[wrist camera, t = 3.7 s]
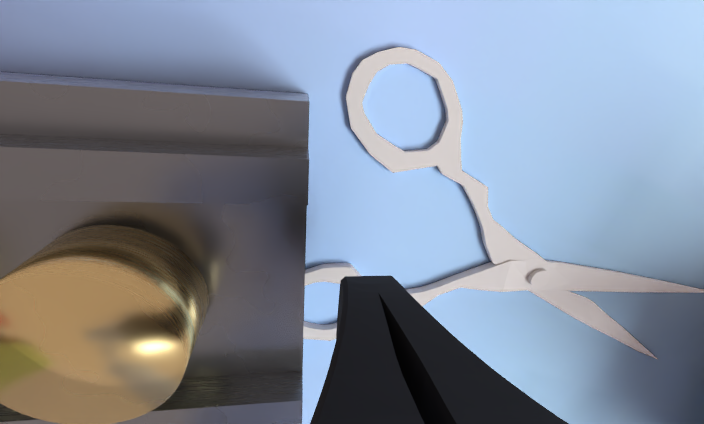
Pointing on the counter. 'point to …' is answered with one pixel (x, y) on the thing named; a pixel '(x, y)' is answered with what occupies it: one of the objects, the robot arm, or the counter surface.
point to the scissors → (502, 248)
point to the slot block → (176, 216)
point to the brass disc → (98, 326)
